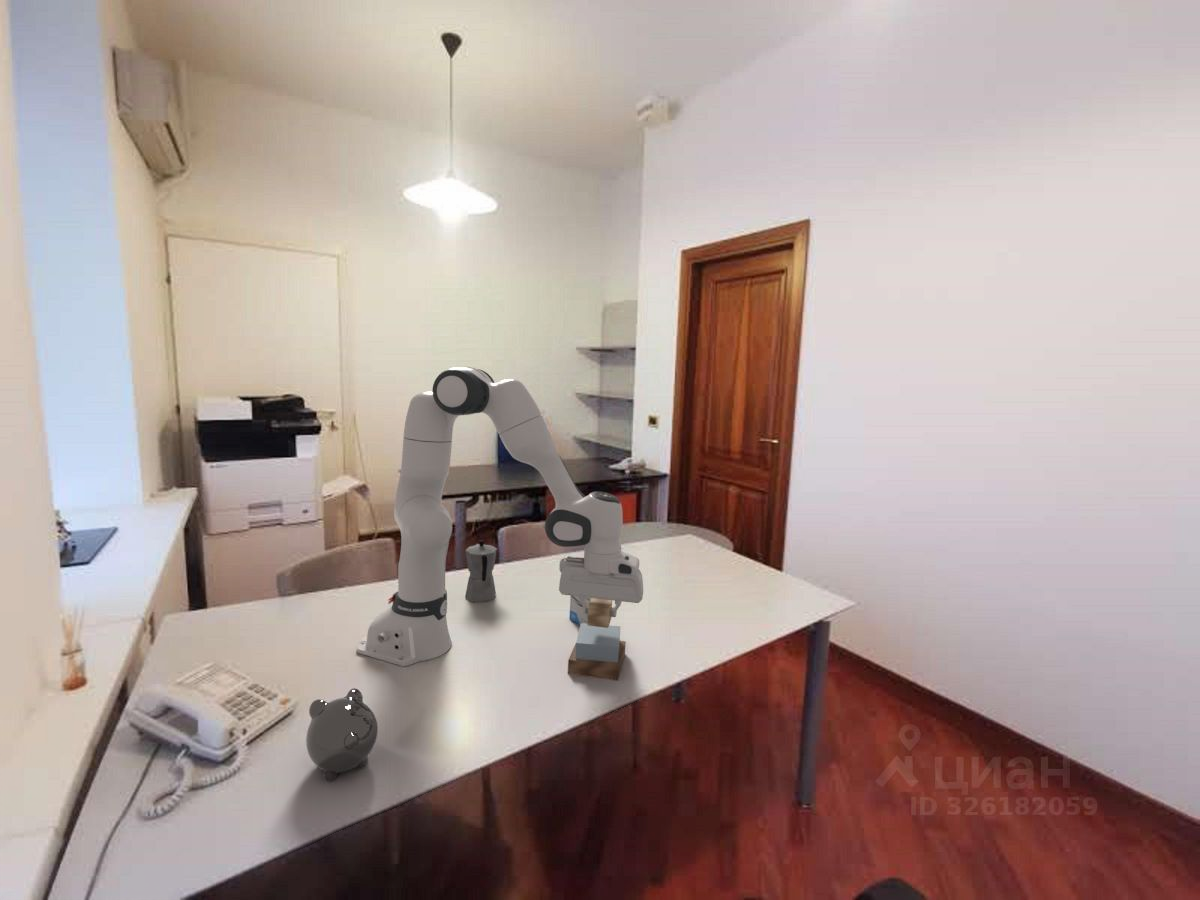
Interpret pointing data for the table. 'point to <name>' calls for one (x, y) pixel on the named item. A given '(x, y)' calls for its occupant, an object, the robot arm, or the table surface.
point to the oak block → (599, 612)
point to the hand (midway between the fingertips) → (599, 614)
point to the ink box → (578, 610)
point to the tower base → (597, 665)
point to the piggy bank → (341, 734)
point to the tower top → (598, 643)
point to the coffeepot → (480, 572)
